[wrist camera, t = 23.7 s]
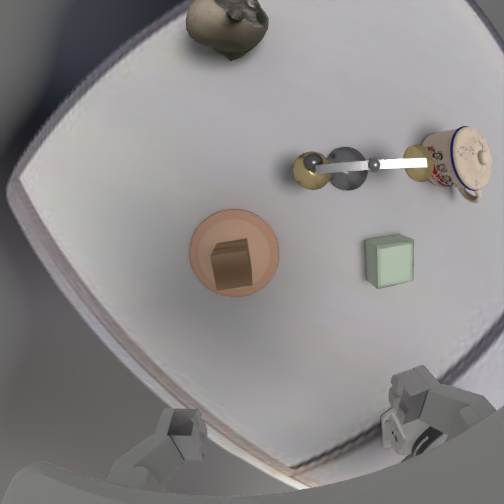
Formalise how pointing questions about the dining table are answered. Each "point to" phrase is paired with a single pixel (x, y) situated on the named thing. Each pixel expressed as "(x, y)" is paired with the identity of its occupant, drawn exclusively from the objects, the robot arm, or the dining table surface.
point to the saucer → (229, 229)
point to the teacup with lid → (460, 160)
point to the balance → (357, 167)
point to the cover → (389, 260)
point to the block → (231, 264)
